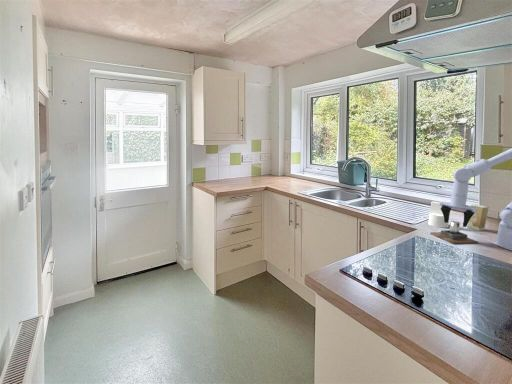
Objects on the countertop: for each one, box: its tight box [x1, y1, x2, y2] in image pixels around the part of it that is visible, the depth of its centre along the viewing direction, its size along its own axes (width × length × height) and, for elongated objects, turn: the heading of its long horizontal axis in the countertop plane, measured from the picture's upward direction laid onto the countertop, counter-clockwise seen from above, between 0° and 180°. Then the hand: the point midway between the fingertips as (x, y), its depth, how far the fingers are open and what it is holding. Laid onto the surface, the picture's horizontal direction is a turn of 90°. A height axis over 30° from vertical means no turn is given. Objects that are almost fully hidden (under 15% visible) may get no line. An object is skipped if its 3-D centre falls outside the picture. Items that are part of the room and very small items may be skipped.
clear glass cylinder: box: [449, 220, 461, 235], centre depth 137 cm, size 4×4×7 cm
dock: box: [430, 229, 479, 245], centre depth 138 cm, size 14×12×3 cm
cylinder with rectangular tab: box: [427, 201, 451, 229], centre depth 159 cm, size 9×9×12 cm
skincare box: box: [466, 204, 489, 232], centre depth 153 cm, size 6×4×12 cm
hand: (455, 224), depth 137 cm, fingers open, 7 cm apart
